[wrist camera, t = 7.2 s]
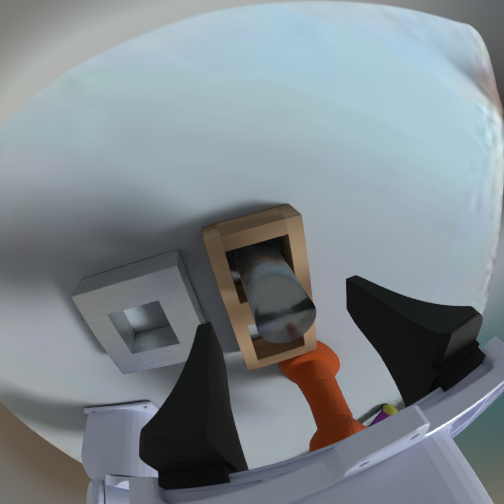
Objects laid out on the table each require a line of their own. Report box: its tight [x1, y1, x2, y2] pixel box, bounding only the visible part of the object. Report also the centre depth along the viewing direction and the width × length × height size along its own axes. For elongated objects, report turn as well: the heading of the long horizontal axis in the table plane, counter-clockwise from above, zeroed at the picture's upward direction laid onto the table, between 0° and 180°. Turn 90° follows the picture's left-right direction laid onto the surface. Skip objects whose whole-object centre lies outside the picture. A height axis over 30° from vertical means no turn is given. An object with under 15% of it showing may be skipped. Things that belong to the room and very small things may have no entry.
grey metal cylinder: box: [234, 239, 316, 343], centre depth 16 cm, size 3×3×8 cm
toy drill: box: [278, 340, 367, 452], centre depth 21 cm, size 5×19×15 cm, turn 43°
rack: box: [202, 204, 317, 371], centre depth 20 cm, size 12×6×2 cm, turn 12°
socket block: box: [72, 250, 207, 374], centre depth 19 cm, size 8×8×2 cm
